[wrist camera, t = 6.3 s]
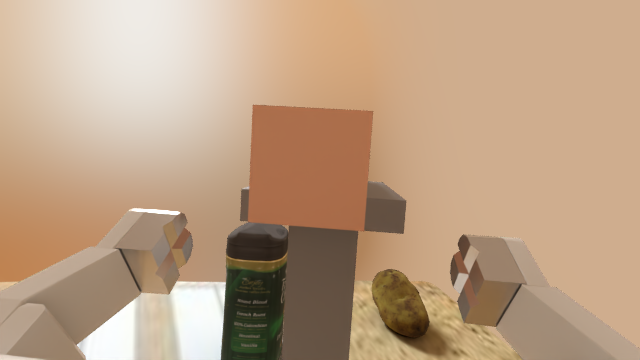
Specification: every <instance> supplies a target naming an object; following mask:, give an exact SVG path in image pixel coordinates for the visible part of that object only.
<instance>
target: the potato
mask: <svg viewBox="0 0 640 360" xmlns="http://www.w3.org/2000/svg"><path fill="white" fill-rule="evenodd" d="M372 295H373V299H374V302H375V304H376V305H377V307H378V309H379V313H380V316H381V318H382V320H383V321H384V322H385V324H386V325H387V326H388V327H389V328H391V329H392V330H394V331H395V332H397V333H399V334H402V335H405V336H408V337H412V338H413V337H420V336H422V335H424V334H425V333H426V331H427V328H428V327H429V318H428V314H427V311H426V309H425V306H424V304H423V302H422V300H421V297H420V295H419V292H418V290H417V289H416V288H415V286H414V285H413V284H411V283H410V282H409V280H408V278H407V277H406V276H405V275H404V274H403V273H402V272H399V271H397V270H393V269H388V270H384V271H382V272H379V273H378V274H377V275H376V276H375V278H374V280H373V283H372Z"/></svg>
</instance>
